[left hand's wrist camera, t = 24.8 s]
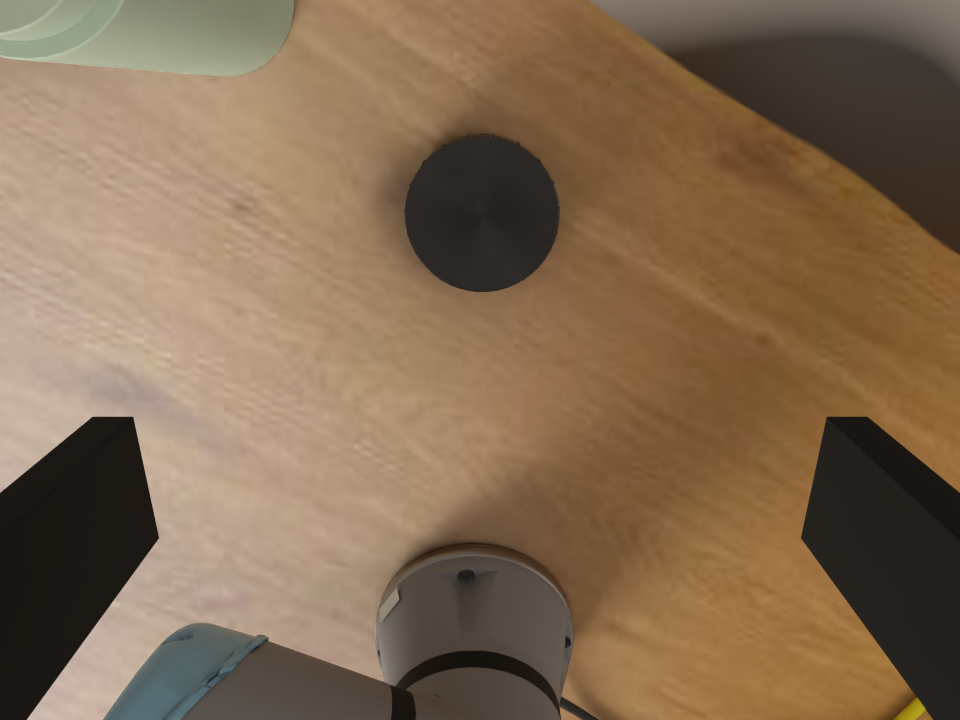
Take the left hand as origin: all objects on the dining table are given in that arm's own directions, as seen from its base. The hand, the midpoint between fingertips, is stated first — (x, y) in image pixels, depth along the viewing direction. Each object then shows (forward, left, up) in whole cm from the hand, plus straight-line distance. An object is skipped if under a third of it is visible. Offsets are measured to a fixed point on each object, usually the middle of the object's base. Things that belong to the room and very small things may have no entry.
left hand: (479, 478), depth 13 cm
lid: (0, 0, -29) cm, 29 cm away
